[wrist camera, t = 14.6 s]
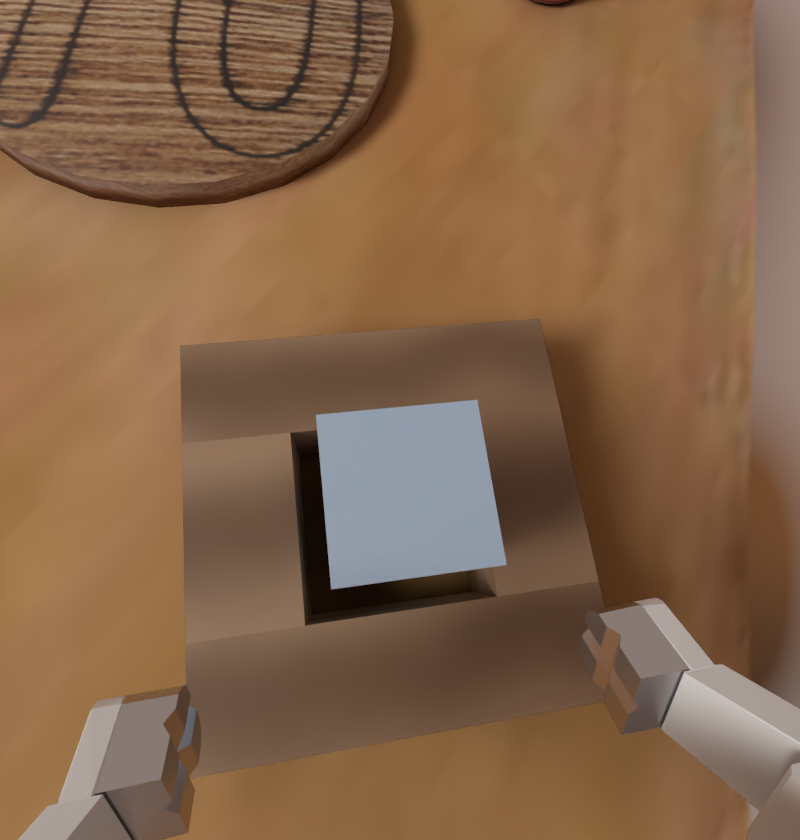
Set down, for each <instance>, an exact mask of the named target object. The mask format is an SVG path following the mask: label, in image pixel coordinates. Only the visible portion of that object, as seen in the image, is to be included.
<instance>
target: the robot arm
mask: <svg viewBox="0 0 800 840" xmlns="http://www.w3.org/2000/svg"><path fill="white" fill-rule="evenodd" d="M585 622H586V624H587V626H588V627H589V628H588V629H587V630H586V631H585V632H584V634H583V635H582V636H581V642H580V651H581V657H582V661H583V664H584V666H585V669H586V671H587V673H588V675H589V677H590V678H591V680H592V682H594V683H595V684H596V685H598V686H599V687H601V688H602V689H604V690H605V693H604V704H605V706H606V707H607V709H608V711H609V713H610V715H611V716H612V718H613V720H614V722H615V723H616V725H617V727H618V729H619V731H620V732H621V734H627V733H632V732H637V731H643V730H648V729H653V728H658V727H662V728H661V730H662V731H663V732H665V733H666V734H667V735H668V736H669V737H671V738H672V739H673V740H674V741H675V742H677V743H678V744H679V745H680V746H681V747H683V748H684V749H685V750H686V751H688V752H689V753H690V754H691V755H692V756H694V757H695V758H696V759H697V760H698V761H700V762H701V763H702V764H703V765H704V766H706V767H707V768H708V769H709V770H710V771H712V772H713V773H714V774H715V775H717V776H718V777H719V778H720V779H721V780H723V781H724V782H725V783H726V784H727V785H729V786H730V787H731V788H732V789H733V790H735V791H736V792H737V793H738V794H739V795H741V796H742V797H743V798H744V799H746V800H747V801H748V802H749V803H750V804H752V805H753V806H754V807H755V808H756V809H758V810H759V811H760V812H759V814H758V815H757V817H756V818H755V820H754V821H753V823H752V824H751V826H750V827H749V828H748V832H747V840H800V709H799V708H797V707H795V706H794V705H792V704H790V703H789V702H787V701H785V700H783V699H782V698H780V697H778V696H776V695H775V694H773V693H771V692H769V691H768V690H766V689H764V688H763V687H761V686H759V685H757V684H756V683H754V682H752V681H750V680H749V679H747V678H745V677H744V676H742V675H740V674H738V673H737V672H735V671H733V670H731V669H730V668H728V667H726V666H725V665H723V664H716V665H715V664H714V663H713V662H712V661H711V660H710V658H709V657H708V656H707V655H706V653H705V652H704V651H703V650H702V648H701V647H700V646H699V645H698V644H697V642H696V641H695V640H694V639H693V637H692V636H691V635H690V634H689V633H688V631H687V630H686V629H685V628H684V626H683V625H682V624H681V623H680V621H679V620H678V619H677V618H676V617H675V615H674V614H673V613H672V612H671V610H670V609H669V608H668V607H667V606H666V604H665V603H664V602H663V601H662V600H660V599H658V598H649V599H644V600H640V601H635V602H632V601H631V602H626V603H621V604H616V605H611V606H606V607H601V608H596V609H591V610H590V611H589V612H588V613H587V615H586V619H585ZM190 698H191V694H190V692H189V690H188V688H187V686H186V685H184V686H178V687H172V688H166V689H161V690H155V691H149V692H143V693H137V694H131V695H124V696H118V697H113V698H108V699H102V700H98V701H97V702H96V704H95V705H94V706H93V708H92V709H91V711H90V713H89V716H88V719H87V722H86V724H85V727H84V730H83V733H82V736H81V739H80V741H79V744H78V747H77V750H76V753H75V755H74V758H73V761H72V764H71V767H70V769H69V772H68V775H67V778H66V781H65V783H64V786H63V789H62V792H61V795H60V798H59V800H58V803H56V804H52V805H48V806H47V807H46V808H45V809H44V811H43V812H42V813H41V814H40V815H39V816H38V817H37V819H36V820H35V821H34V822H33V823H32V824H31V825H30V827H29V828H28V829H27V830H26V831H25V832H24V833H23V835H22V836H21V837H20V838H19V839H18V840H162V839H166V838H170V837H174V836H177V835H181V834H185V833H188V830H189V824H190V817H191V811H192V804H193V798H194V792H195V790H194V787H193V785H192V783H191V780H190V778H189V776H190V775H191V773H192V772H193V770H194V769H195V768H196V766H197V765H198V764H199V757H200V750H201V724H200V718H199V715H198V712H197V709H195V708H193V707H190V706H189V704H190Z"/></svg>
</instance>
